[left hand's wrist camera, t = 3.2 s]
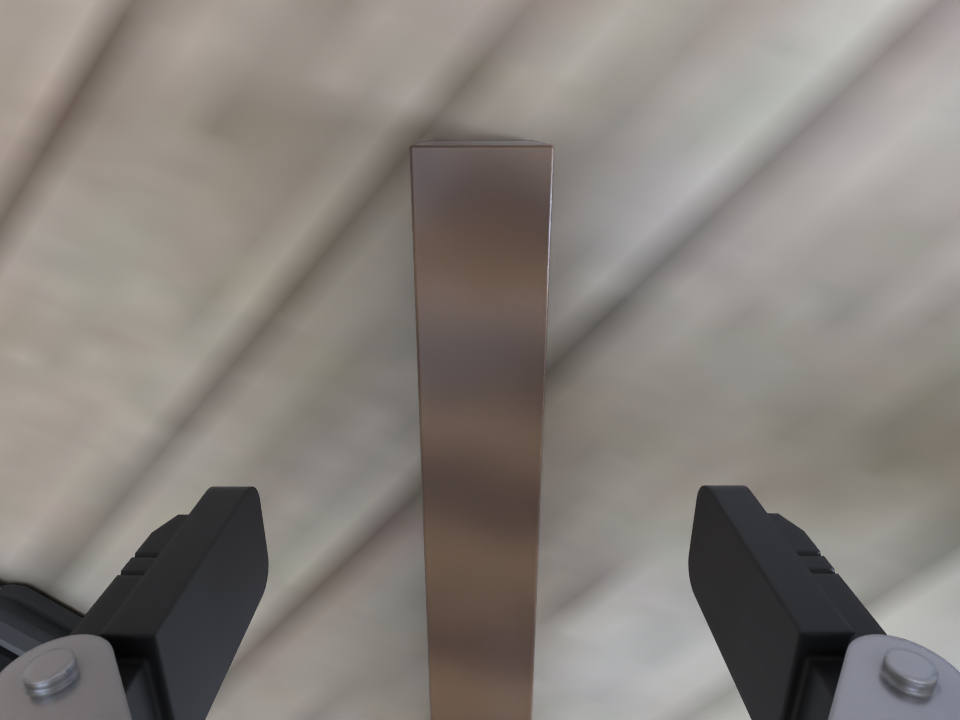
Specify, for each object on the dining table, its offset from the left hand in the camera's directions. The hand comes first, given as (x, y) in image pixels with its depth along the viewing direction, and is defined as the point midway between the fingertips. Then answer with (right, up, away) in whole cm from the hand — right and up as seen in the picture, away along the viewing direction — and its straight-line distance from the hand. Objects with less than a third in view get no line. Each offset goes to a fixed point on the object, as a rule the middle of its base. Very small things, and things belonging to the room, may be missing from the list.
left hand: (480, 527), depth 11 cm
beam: (0, -15, +23) cm, 27 cm away
